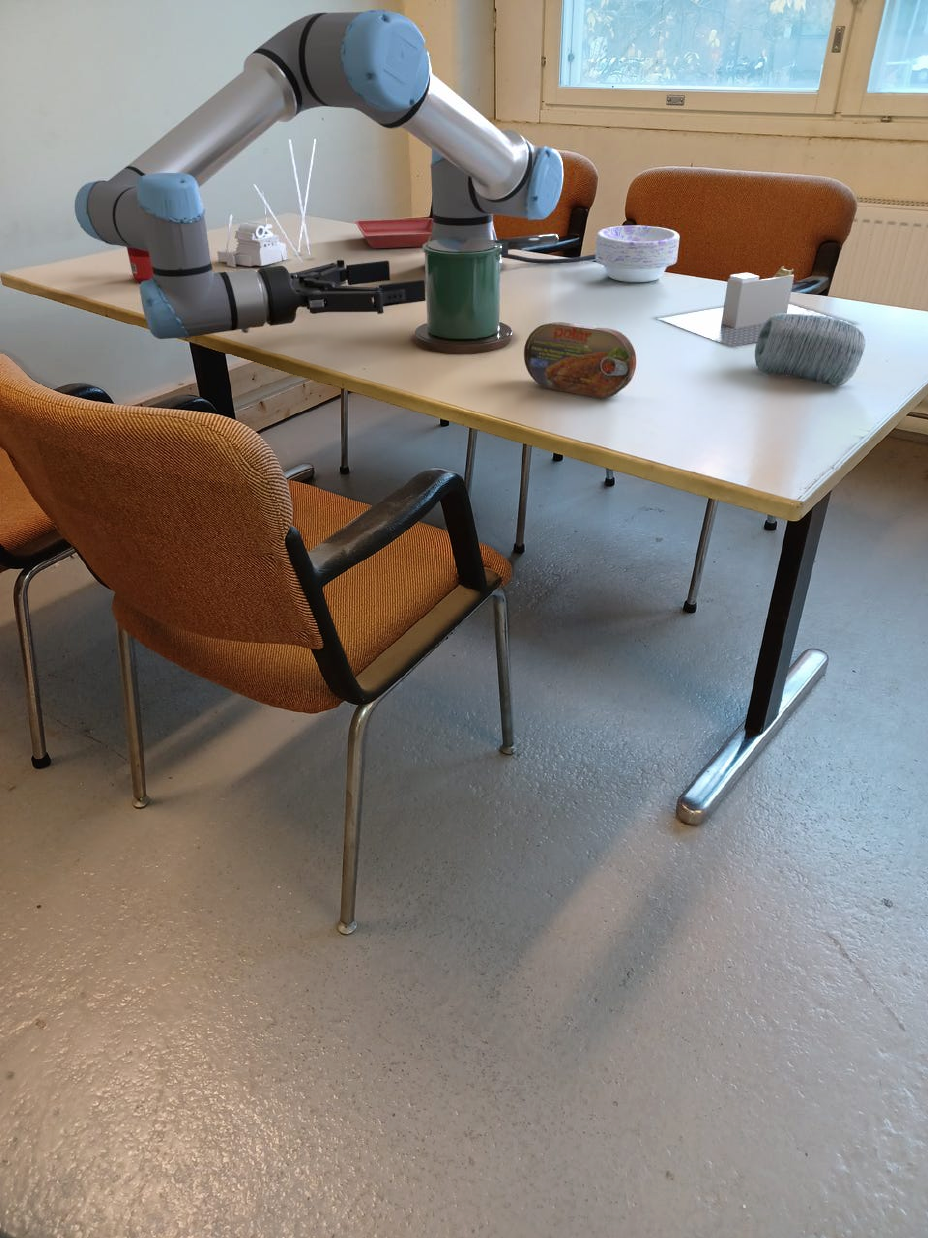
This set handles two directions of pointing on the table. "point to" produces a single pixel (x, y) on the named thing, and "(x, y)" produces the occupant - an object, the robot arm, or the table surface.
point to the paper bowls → (636, 252)
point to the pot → (468, 283)
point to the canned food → (140, 264)
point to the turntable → (463, 341)
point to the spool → (809, 348)
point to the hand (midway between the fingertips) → (406, 279)
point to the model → (743, 309)
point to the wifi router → (263, 236)
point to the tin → (580, 359)
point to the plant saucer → (396, 232)
